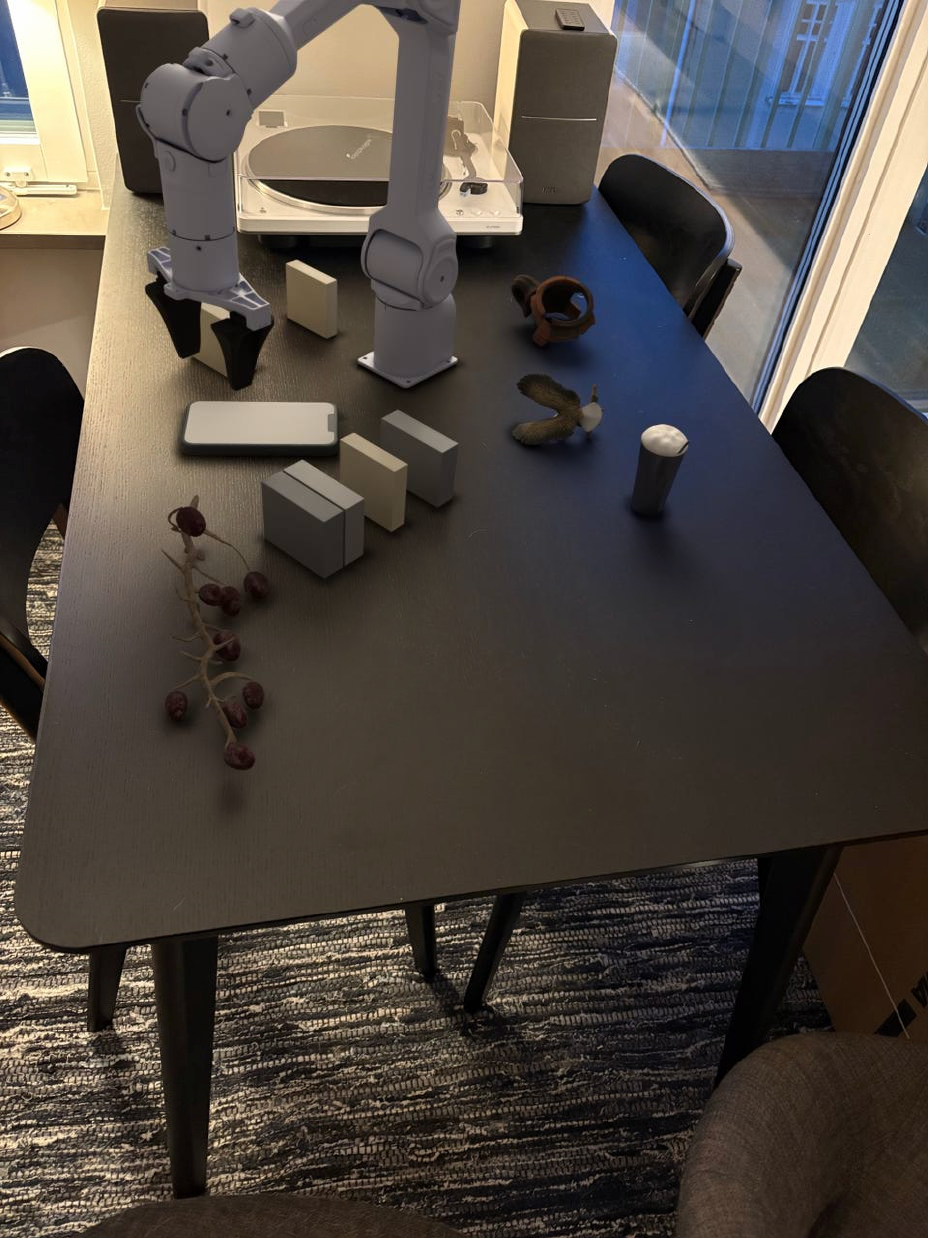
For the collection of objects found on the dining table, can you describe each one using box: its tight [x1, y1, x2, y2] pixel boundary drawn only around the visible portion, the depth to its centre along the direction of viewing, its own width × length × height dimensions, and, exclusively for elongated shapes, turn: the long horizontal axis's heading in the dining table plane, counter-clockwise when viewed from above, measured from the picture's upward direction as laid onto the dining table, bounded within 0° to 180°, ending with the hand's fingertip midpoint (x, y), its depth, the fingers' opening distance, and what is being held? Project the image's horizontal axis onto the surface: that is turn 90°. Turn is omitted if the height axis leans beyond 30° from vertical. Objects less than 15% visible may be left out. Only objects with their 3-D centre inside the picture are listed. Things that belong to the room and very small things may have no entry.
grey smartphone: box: [179, 400, 340, 457], centre depth 102 cm, size 9×2×16 cm
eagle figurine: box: [511, 372, 605, 446], centre depth 106 cm, size 8×7×9 cm
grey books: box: [260, 409, 459, 580], centre depth 92 cm, size 18×8×6 cm, turn 140°
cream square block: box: [339, 432, 408, 533], centre depth 92 cm, size 2×7×7 cm, turn 50°
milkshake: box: [630, 423, 692, 517], centre depth 96 cm, size 5×5×10 cm
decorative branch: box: [160, 494, 270, 771], centre depth 79 cm, size 11×9×30 cm
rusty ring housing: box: [510, 274, 597, 347], centre depth 123 cm, size 12×10×8 cm
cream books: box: [191, 259, 338, 378], centre depth 113 cm, size 17×7×7 cm, turn 140°
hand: (215, 370), depth 92 cm, fingers open, 7 cm apart
